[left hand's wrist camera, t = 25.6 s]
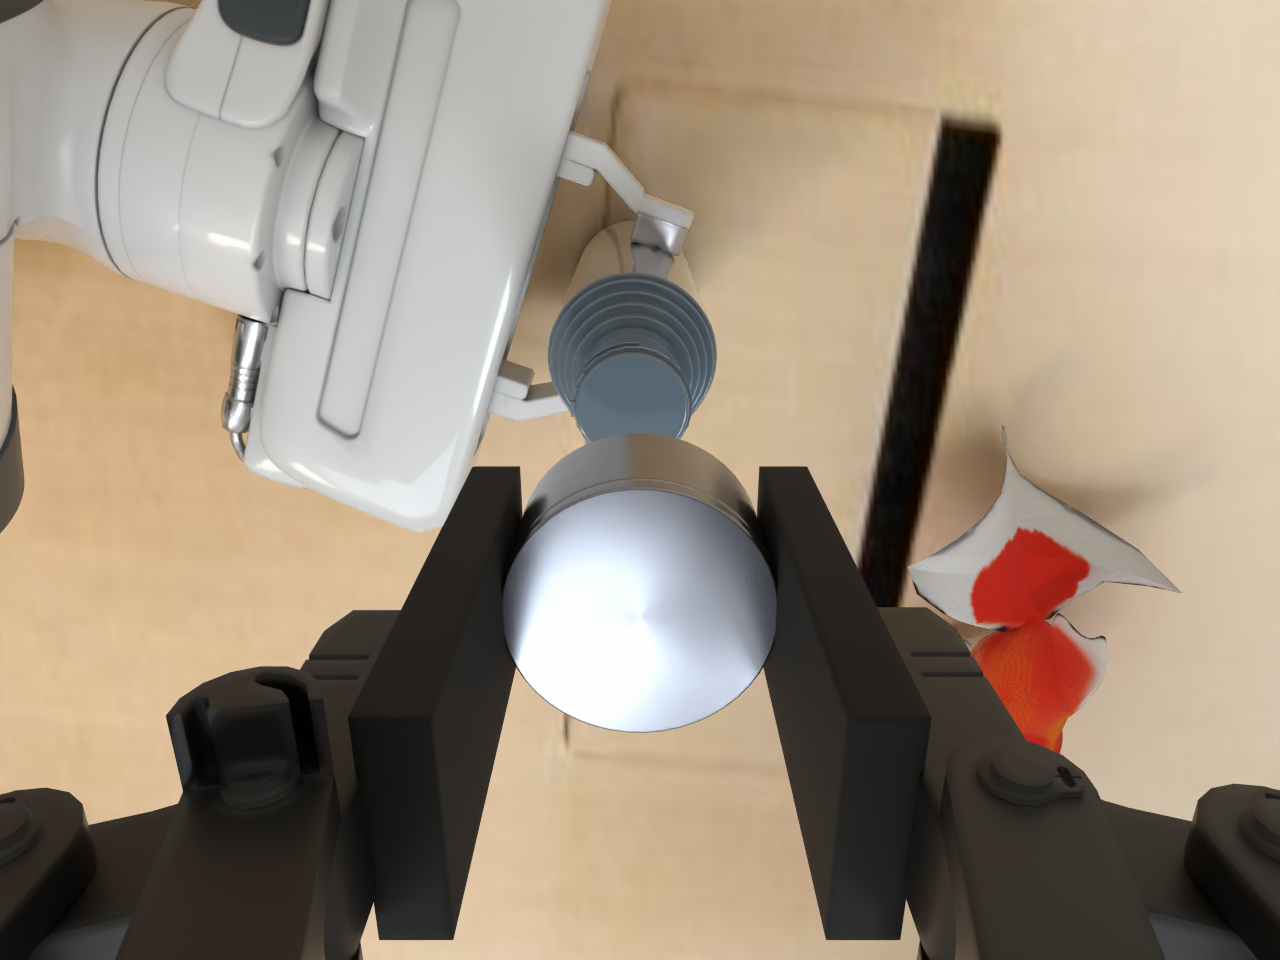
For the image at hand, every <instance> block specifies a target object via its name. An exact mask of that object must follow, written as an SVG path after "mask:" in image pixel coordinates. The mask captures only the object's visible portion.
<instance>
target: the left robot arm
mask: <svg viewBox="0 0 1280 960" xmlns="http://www.w3.org/2000/svg"><path fill="white" fill-rule="evenodd" d="M522 518H523V517H522V497H521V478H520V467H472V469H471V471H470V473H469V475H468V477H467V479H466V481H465V483H464V485H463V487H462V489H461V491H460V493H459V495H458V497H457V499H456V501H455V503H454V505H453V507H452V509H451V511H450V513H449V515H448V517H447V519H446V521H445V523H444V525H443V527H442V529H441V531H440V533H439V535H438V537H437V539H436V541H435V543H434V545H433V547H432V549H431V551H430V553H429V555H428V557H427V559H426V561H425V563H424V565H423V567H422V569H421V571H420V573H419V575H418V577H417V579H416V581H415V583H414V585H413V587H412V589H411V591H410V593H409V595H408V597H407V599H406V601H405V603H404V605H403V607H402V609H401V610H353V611H352V612H350V613H349V614H347V615H346V616H345V617H343V618H342V619H340V620H339V621H338V622H336V623H335V624H333V625H332V626H331V627H329V628H328V629H326V630H325V631H324V632H323V634H322V636H321V637H320V639H319V640H318V642H317V643H316V645H315V647H314V648H313V650H312V651H311V653H310V655H309V660H306V661H305V663H304V664H303V666H302V667H301V669H300V670H298V669H294V668H290V667H255V668H250V669H245V670H240V671H235V672H230V673H228V674H225V675H223V676H220V677H218V678H215V679H213V680H210V681H207V682H205V683H203V684H201V685H200V686H198V687H197V688H195V689H193V690H192V691H190V692H189V693H187V694H186V695H184V696H183V697H181V698H180V699H179V700H178V701H177V703H176V704H175V705H174V706H173V708H172V709H171V710H170V711H169V712H168V714H167V715H166V718H167V723H168V727H169V732H170V736H171V740H172V745H173V749H174V753H175V758H176V762H177V766H178V771H179V775H180V779H181V784H182V788H183V793H182V796H181V798H180V801H179V803H178V804H176V805H172V806H169V807H165V808H162V809H158V810H155V811H151V812H147V813H142V814H138V815H133V816H129V817H124V818H119V819H115V820H110V821H106V822H101V823H96V824H92V825H88V823H87V819H86V816H85V812H84V808H83V805H82V803H81V802H79V801H78V800H77V799H76V798H75V797H74V796H73V795H72V794H71V793H69V792H65V791H60V790H55V789H50V788H38V789H27V790H17V791H13V792H9V793H5V794H1V795H0V960H363V956H362V950H361V943H360V940H361V937H362V934H363V931H364V928H365V925H366V923H367V920H368V917H369V914H370V911H371V908H372V905H373V902H374V907H375V914H376V921H377V928H378V935H379V940H453V939H454V934H455V930H456V926H457V921H458V917H459V913H460V908H461V904H462V900H463V895H464V891H465V887H466V882H467V878H468V873H469V869H470V865H471V860H472V856H473V852H474V847H475V843H476V839H477V834H478V830H479V826H480V821H481V817H482V813H483V808H484V804H485V800H486V795H487V791H488V787H489V782H490V778H491V774H492V769H493V765H494V760H495V756H496V752H497V747H498V743H499V739H500V734H501V730H502V726H503V721H504V717H505V713H506V708H507V704H508V700H509V695H510V691H511V687H512V682H513V678H514V674H515V669H516V666H515V664H514V662H513V660H512V658H511V656H510V654H509V652H508V650H507V647H506V644H505V637H504V622H503V606H502V585H503V582H504V578H505V574H506V571H507V567H508V564H509V561H510V558H511V554H512V551H513V548H514V544H515V541H516V538H517V534H518V531H519V528H520V525H521V521H522ZM757 520H758V523H759V526H760V529H761V533H762V536H763V539H764V543H765V546H766V549H767V553H768V556H769V559H770V562H771V566H772V569H773V572H774V576H775V579H776V583H777V588H778V595H777V612H776V628H775V642H774V645H773V648H772V650H771V653H770V655H769V658H768V659H767V661H766V663H765V665H764V666H763V667H764V672H765V676H766V680H767V685H768V689H769V693H770V698H771V702H772V706H773V711H774V715H775V719H776V724H777V728H778V732H779V737H780V741H781V746H782V750H783V754H784V759H785V763H786V767H787V772H788V776H789V780H790V785H791V789H792V793H793V798H794V802H795V806H796V811H797V815H798V819H799V824H800V828H801V833H802V837H803V841H804V846H805V850H806V854H807V859H808V863H809V867H810V872H811V876H812V880H813V885H814V889H815V893H816V898H817V902H818V906H819V911H820V915H821V919H822V924H823V928H824V933H825V937H826V940H900V938H901V931H902V924H903V917H904V909H905V902H906V900H907V902H908V905H909V908H910V911H911V914H912V917H913V920H914V923H915V926H916V928H917V931H918V934H919V937H920V943H919V950H918V956H917V960H1280V790H1275V789H1271V788H1268V787H1263V786H1253V785H1242V784H1231V785H1226V786H1221V787H1216V788H1211V789H1210V790H1209V791H1208V792H1207V793H1205V794H1204V795H1203V796H1202V797H1201V798H1200V799H1199V800H1198V802H1197V806H1196V809H1195V813H1194V816H1193V820H1192V821H1187V820H1183V819H1178V818H1173V817H1169V816H1164V815H1160V814H1155V813H1150V812H1146V811H1141V810H1136V809H1132V808H1128V807H1124V806H1121V805H1117V804H1114V803H1110V802H1107V801H1104V800H1101V799H1100V797H1099V794H1098V792H1097V790H1096V788H1095V787H1094V785H1093V784H1092V783H1091V781H1090V780H1089V778H1088V777H1087V775H1086V774H1085V773H1084V771H1082V770H1081V769H1080V768H1078V767H1077V766H1076V765H1074V764H1073V763H1072V762H1071V761H1069V760H1068V759H1067V758H1065V757H1064V756H1063V755H1061V754H1059V753H1056V752H1054V751H1052V750H1050V749H1047V748H1045V747H1043V746H1041V745H1038V744H1036V743H1033V742H1028V741H1027V740H1026V739H1025V737H1024V735H1023V734H1022V732H1021V731H1020V729H1019V727H1018V726H1017V724H1016V723H1015V721H1014V720H1013V718H1012V716H1011V715H1010V713H1009V712H1008V710H1007V709H1006V707H1005V705H1004V704H1003V702H1002V701H1001V699H1000V698H999V696H998V694H997V693H996V691H995V690H994V688H993V687H992V685H991V683H990V682H989V680H988V679H987V677H984V676H983V671H982V669H981V668H980V666H979V664H978V663H977V661H976V660H975V658H974V657H971V652H970V650H969V649H968V647H967V646H966V644H965V642H964V641H963V639H962V638H961V636H960V634H959V633H958V631H957V630H956V628H955V627H953V626H952V625H950V624H949V623H948V622H946V621H945V620H943V619H942V618H941V617H939V616H938V615H936V614H935V613H934V612H932V611H931V610H929V609H928V608H926V607H876V604H875V602H874V600H873V598H872V596H871V594H870V592H869V590H868V588H867V586H866V584H865V582H864V580H863V578H862V576H861V574H860V572H859V570H858V568H857V566H856V564H855V562H854V560H853V558H852V556H851V554H850V552H849V550H848V548H847V546H846V544H845V542H844V540H843V538H842V536H841V534H840V532H839V530H838V528H837V526H836V524H835V522H834V520H833V518H832V516H831V514H830V512H829V510H828V508H827V506H826V504H825V502H824V500H823V498H822V496H821V494H820V492H819V490H818V488H817V486H816V484H815V482H814V480H813V478H812V476H811V474H810V472H809V470H808V468H807V467H759V486H758V506H757Z"/></svg>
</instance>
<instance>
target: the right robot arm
mask: <svg viewBox="0 0 1280 960" xmlns="http://www.w3.org/2000/svg"><path fill="white" fill-rule="evenodd" d="M611 3H612V0H202V1H201V3H200V4H199V6H198V8H197V9H195V8H192V7H189V6H185V5H182V4H178V3H172V2H164V1H144V0H0V533H1V532H2V531H3V530H4V528H5V527H6V526H7V525H8V523H9V522H10V521H11V519H12V518H13V516H14V514H15V513H16V511H17V509H18V507H19V504H20V502H21V499H22V495H23V491H24V471H23V461H22V451H21V441H20V431H19V420H18V410H17V399H16V394H15V390H14V387H13V384H12V368H13V299H14V239H20V240H38V241H50V242H55V243H59V244H62V245H65V246H68V247H71V248H74V249H76V250H78V251H80V252H82V253H84V254H85V255H87V256H89V257H91V258H92V259H94V260H95V261H97V262H98V263H100V264H101V265H102V266H104V267H106V268H107V269H109V270H111V271H112V272H114V273H117V274H119V275H121V276H124V277H126V278H129V279H131V280H134V281H137V282H141V283H144V284H147V285H150V286H153V287H156V288H159V289H162V290H165V291H169V292H172V293H175V294H178V295H181V296H184V297H187V298H190V299H193V300H196V301H200V302H203V303H206V304H209V305H212V306H215V307H218V308H221V309H224V310H227V311H230V312H234V313H237V314H238V318H237V322H236V330H235V336H234V341H233V347H232V356H231V375H230V382H229V387H228V391H227V392H226V393H225V396H224V399H223V403H222V410H221V422H222V427H223V428H224V429H225V430H227V431H229V432H230V437H231V442H232V445H233V448H234V450H235V452H236V454H237V455H238V457H239V458H240V459H241V460H242V461H243V463H244V465H245V467H246V468H247V469H248V470H250V471H251V472H253V473H254V474H256V475H258V476H261V477H263V478H267V479H270V480H273V481H277V482H280V483H283V484H286V485H290V486H293V487H298V488H311V489H313V490H315V491H317V492H319V493H321V494H323V495H325V496H327V497H329V498H331V499H334V500H336V501H338V502H340V503H342V504H344V505H347V506H349V507H351V508H354V509H356V510H358V511H361V512H363V513H365V514H368V515H370V516H373V517H375V518H378V519H381V520H383V521H386V522H389V523H391V524H394V525H397V526H400V527H402V528H406V529H409V530H412V531H417V532H427V531H430V530H433V529H436V528H440V527H443V525H444V523H445V521H446V519H447V517H448V515H449V513H450V511H451V509H452V507H453V505H454V503H455V501H456V499H457V497H458V495H459V493H460V491H461V489H462V487H463V485H464V483H465V481H466V479H467V477H468V475H469V473H470V471H471V469H472V467H475V464H476V461H477V458H478V454H479V451H480V447H481V444H482V441H483V437H484V434H485V430H486V427H487V424H488V420H489V417H490V414H491V413H494V414H497V415H500V416H503V417H507V418H510V419H513V420H516V421H524V420H528V419H533V418H538V417H543V416H548V415H553V414H558V413H562V412H567V411H569V410H568V408H567V407H566V406H565V404H564V403H563V402H562V400H561V398H560V396H559V395H558V393H557V391H556V389H555V387H554V384H553V382H549V383H543V384H537V385H531V383H532V380H533V377H534V374H535V373H534V371H533V369H530V368H527V367H524V366H521V365H518V364H515V363H512V362H509V361H506V359H507V356H508V352H509V349H510V346H511V342H512V339H513V336H514V332H515V329H516V325H517V322H518V319H519V315H520V312H521V308H522V305H523V302H524V298H525V295H526V291H527V288H528V285H529V281H530V278H531V274H532V271H533V268H534V264H535V261H536V258H537V254H538V251H539V247H540V244H541V241H542V237H543V234H544V230H545V227H546V224H547V220H548V217H549V213H550V210H551V207H552V203H553V200H554V196H555V193H556V190H557V186H558V183H559V180H560V177H561V178H564V179H567V180H570V181H573V182H575V183H578V184H581V185H584V186H589V185H591V184H592V183H593V181H594V179H595V176H596V173H597V170H598V171H599V173H600V174H601V175H602V176H603V177H604V178H605V180H606V181H607V182H608V183H609V184H610V185H611V187H612V188H613V189H614V190H615V191H616V192H617V194H618V195H619V196H620V197H621V198H622V199H623V201H624V202H625V203H626V204H627V205H628V206H629V208H630V209H631V210H632V211H633V212H634V213H635V215H636V218H635V221H634V224H633V228H632V231H631V234H630V236H631V237H630V240H631V241H634V242H637V243H639V244H642V245H645V246H653V245H657V246H658V247H659V248H660V250H661V251H663V252H665V253H668V254H671V255H674V256H680V253H681V250H682V248H683V245H684V242H685V240H686V237H687V234H688V232H689V229H690V226H691V223H692V220H693V218H694V215H695V214H694V213H693V211H690V210H688V209H686V208H684V207H682V206H679V205H676V204H673V203H670V202H668V201H665V200H662V199H659V198H657V197H654V196H651V195H648V194H646V193H645V191H644V188H643V187H642V186H641V184H640V183H639V182H638V181H637V180H636V178H635V177H634V176H633V175H632V174H631V172H630V171H629V170H628V169H627V168H626V166H625V165H624V164H623V163H622V162H621V160H620V159H619V158H618V157H617V156H616V154H615V153H614V152H613V151H612V150H611V148H610V147H609V146H608V145H607V144H606V143H604V142H601V141H598V140H596V139H593V138H590V137H588V136H585V135H582V134H579V133H577V132H574V129H575V125H576V122H577V118H578V115H579V112H580V108H581V105H582V102H583V98H584V95H585V91H586V88H587V85H588V81H589V78H590V74H591V71H592V68H593V64H594V61H595V57H596V54H597V51H598V47H599V44H600V40H601V37H602V34H603V30H604V27H605V23H606V20H607V17H608V13H609V10H610V6H611ZM246 432H248V436H247V442H246V446H245V444H244V441H243V437H242V433H246Z"/></svg>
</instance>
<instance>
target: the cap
mask: <svg viewBox="0 0 1280 960" xmlns="http://www.w3.org/2000/svg"><path fill="white" fill-rule="evenodd" d="M777 595H778V588H777V583H776V579H775V576H774V572H773V569H772V566H771V562H770V559H769V556H768V553H767V549H766V546H765V543H764V539H763V536H762V533H761V529H760V526H759V523H758V520H757V516H756V513H755V511H754V508H753V505H752V502H751V500H750V498H749V496H748V494H747V493H746V491H745V489H744V487H743V486H742V484H741V483H740V482H739V480H738V479H737V478H736V476H735V475H734V474H733V473H732V472H731V471H730V470H729V469H728V468H727V467H726V466H725V465H724V464H723V463H722V462H720V461H719V460H718V459H716V458H715V457H714V456H713V455H711V454H709V453H708V452H706V451H704V450H703V449H701V448H699V447H697V446H695V445H693V444H690V443H688V442H686V441H683V440H680V439H676V438H673V437H669V436H664V435H657V434H647V433H632V434H621V435H615V436H611V437H607V438H602V439H600V440H597V441H594V442H591V443H589V444H586V445H584V446H582V447H581V448H579V449H577V450H575V451H573V452H571V453H570V454H569V455H567V456H566V457H564V458H563V459H561V460H560V461H559V462H558V463H557V464H556V465H555V466H553V467H552V468H551V469H550V470H549V471H548V472H547V474H546V475H545V476H544V477H543V478H542V480H541V481H540V482H539V483H538V485H537V487H536V488H535V490H534V491H533V493H532V495H531V497H530V499H529V501H528V504H527V506H526V508H525V511H524V515H523V518H522V521H521V525H520V528H519V531H518V534H517V538H516V541H515V544H514V548H513V551H512V554H511V558H510V561H509V564H508V567H507V571H506V574H505V578H504V582H503V585H502V606H503V622H504V637H505V644H506V647H507V650H508V652H509V654H510V656H511V658H512V660H513V662H514V664H515V666H516V668H517V669H518V671H519V672H520V673H521V675H522V676H523V678H524V679H525V681H526V682H527V683H528V684H529V685H530V686H531V687H532V688H533V689H534V691H535V692H536V693H537V694H539V695H540V696H541V697H542V698H543V699H544V700H546V701H547V702H548V703H549V704H551V705H552V706H554V707H555V708H557V709H558V710H560V711H561V712H563V713H565V714H567V715H569V716H571V717H573V718H575V719H577V720H579V721H582V722H585V723H587V724H590V725H593V726H596V727H600V728H604V729H608V730H614V731H622V732H639V733H646V732H658V731H665V730H670V729H675V728H680V727H683V726H686V725H689V724H692V723H695V722H698V721H700V720H702V719H704V718H707V717H709V716H711V715H713V714H714V713H716V712H718V711H719V710H721V709H723V708H724V707H726V706H727V705H728V704H730V703H731V702H732V701H734V700H735V699H736V698H738V697H739V696H740V695H741V694H742V693H743V692H744V691H745V690H746V689H747V688H748V687H749V686H750V685H751V683H752V682H753V681H754V679H755V678H756V677H757V676H758V674H759V673H760V671H761V670H762V668H763V666H764V665H765V663H766V661H767V659H768V658H769V655H770V653H771V650H772V648H773V645H774V642H775V628H776V612H777Z"/></svg>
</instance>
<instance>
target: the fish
mask: <svg viewBox="0 0 1280 960" xmlns="http://www.w3.org/2000/svg"><path fill="white" fill-rule="evenodd" d="M1002 434H1003V444H1004V446H1005V450H1006V454H1007V463H1006V470H1005V476H1004V481H1003V486H1002V491H1001V495H1000V496H999V497H998V499H997V500H996V501H995V503H994V504H993V505H992V507H991V508H990V509H989V511H988V512H987V513H986V515H985V516H984V517H983V518H982V519H981V520H980V521H979V522H978V523H976V524H975V525H974V526H973V527H972V528H971V529H969V530H968V531H967V532H966V533H965V534H964V535H962V536H961V537H960V538H959V539H958V540H956V541H954V542H953V543H951V544H949V545H948V546H946V547H945V548H943V549H941V550H940V551H938V552H936V553H935V554H933V555H932V556H930V557H927V558H925V559H923V560H921V561H919V562H917V563H915V564H913V565H911V566H909V567H908V570H909V573H910V576H911V578H912V581H913V584H914V587H915V590H916V593H917V594H918V595H919V596H920V597H922V598H923V599H924V600H926V601H927V602H929V603H930V604H931V605H933V606H934V607H935V608H937V609H938V610H939V611H941V612H942V613H943V614H945V615H947V616H950V617H952V618H954V619H956V620H958V621H960V622H963V623H967V624H971V625H974V626H978V627H982V628H987V629H991V630H993V633H991V634H989V635H987V636H985V637H984V638H983V639H981V640H980V641H979V642H978V643H977V644H976V646H975V647H974V648H972V646H971V644H970V643H969V642H968V641H966V640H963V641H964V642H965V644H966V646H967V647H968V649H969V650H970V652H971V657H974V658H975V660H976V661H977V663H978V664H979V666H980V668H981V669H982V671H983V676H984V677H987V679H988V680H989V682H990V683H991V685H992V687H993V688H994V690H995V691H996V693H997V694H998V696H999V698H1000V699H1001V701H1002V702H1003V704H1004V705H1005V707H1006V709H1007V710H1008V712H1009V713H1010V715H1011V716H1012V718H1013V720H1014V721H1015V723H1016V724H1017V726H1018V727H1019V729H1020V731H1021V732H1022V734H1023V735H1024V737H1025V739H1026V740H1027V741H1028V742H1033V743H1036V744H1038V745H1041V746H1043V747H1045V748H1047V749H1050V750H1052V751H1054V752H1056V753H1059V754H1060V750H1061V746H1062V729H1063V727H1064V724H1065V722H1066V720H1067V718H1068V717H1070V716H1071V715H1072V714H1074V713H1075V712H1076V711H1077V710H1079V709H1080V708H1081V707H1082V706H1083V705H1084V704H1085V703H1086V702H1087V700H1088V699H1089V698H1090V697H1091V696H1092V695H1093V693H1094V692H1095V690H1096V689H1097V687H1098V686H1099V684H1100V683H1101V681H1102V680H1103V676H1104V671H1105V666H1106V639H1105V637H1104V636H1099V637H1096V638H1087V637H1085V636H1082V635H1081V634H1080V633H1079V632H1078V631H1077V630H1076V629H1075V628H1074V627H1073V626H1072V625H1071V624H1070V622H1069V621H1068V620H1067V619H1066V618H1065V617H1064V616H1062V615H1061V614H1059V613H1058V614H1057V615H1056V617H1055V619H1054V622H1053V626H1051V625H1050V624H1049V623H1048V622H1046V621H1045V620H1046V619H1050V618H1051V617H1053V616H1054V615H1055V614H1056V613H1057V612H1058V611H1059V610H1060V609H1061V608H1063V607H1064V606H1065V605H1066V604H1067V603H1068V602H1069V601H1070V600H1071V599H1072V598H1074V597H1076V596H1079V595H1081V594H1083V593H1085V592H1087V591H1089V590H1091V589H1093V588H1094V587H1096V586H1098V585H1100V584H1101V583H1103V582H1114V583H1123V584H1133V585H1143V586H1151V587H1155V588H1160V589H1165V590H1169V591H1174V592H1179V593H1182V592H1181V591H1180V590H1179V589H1177V588H1176V587H1175V586H1174V585H1173V584H1172V583H1171V582H1170V581H1169V580H1168V579H1167V578H1166V577H1165V576H1164V575H1163V574H1162V573H1161V572H1160V571H1159V570H1158V569H1157V568H1156V567H1155V566H1154V565H1153V564H1152V563H1151V562H1150V561H1149V560H1148V559H1147V558H1146V557H1145V556H1144V555H1143V554H1142V553H1141V552H1140V551H1139V550H1138V549H1137V548H1135V547H1134V546H1132V545H1131V544H1129V543H1127V542H1126V541H1124V540H1123V539H1121V538H1120V537H1118V536H1117V535H1115V534H1113V533H1112V532H1110V531H1109V530H1107V529H1106V528H1104V527H1103V526H1101V525H1099V524H1098V523H1096V522H1095V521H1093V520H1092V519H1090V518H1089V517H1087V516H1085V515H1084V514H1082V513H1080V512H1079V511H1077V510H1075V509H1074V508H1072V507H1070V506H1068V505H1067V504H1065V503H1063V502H1061V501H1060V500H1058V499H1056V498H1055V497H1053V496H1051V495H1049V494H1048V493H1046V492H1045V491H1043V490H1042V489H1040V488H1039V487H1037V486H1036V485H1034V484H1033V483H1032V482H1030V481H1029V480H1027V479H1026V478H1024V477H1023V476H1021V475H1020V474H1019V472H1018V470H1017V468H1016V466H1015V465H1014V463H1013V461H1012V459H1011V457H1010V455H1009V453H1008V447H1007V441H1006V435H1005V429H1004V426H1003V425H1002Z"/></svg>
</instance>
